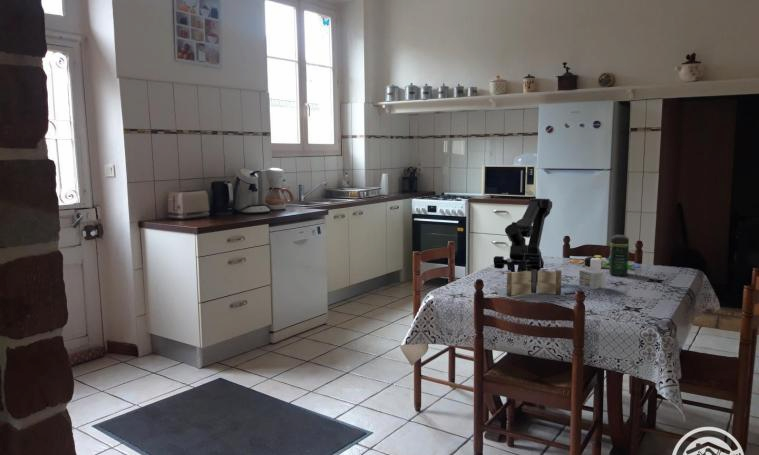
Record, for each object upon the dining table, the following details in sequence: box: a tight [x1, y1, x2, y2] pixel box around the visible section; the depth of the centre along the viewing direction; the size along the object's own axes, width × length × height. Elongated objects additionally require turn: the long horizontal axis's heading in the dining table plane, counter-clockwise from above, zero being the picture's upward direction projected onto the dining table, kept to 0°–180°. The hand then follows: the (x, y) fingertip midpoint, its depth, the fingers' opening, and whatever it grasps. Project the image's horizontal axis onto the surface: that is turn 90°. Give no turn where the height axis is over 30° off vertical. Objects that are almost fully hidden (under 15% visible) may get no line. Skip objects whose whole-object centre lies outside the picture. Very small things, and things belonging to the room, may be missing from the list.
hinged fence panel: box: [506, 269, 538, 296], centre depth 235 cm, size 13×2×9 cm, turn 107°
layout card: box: [493, 287, 567, 298], centre depth 239 cm, size 15×26×1 cm, turn 92°
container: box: [578, 256, 607, 290], centre depth 246 cm, size 8×8×13 cm
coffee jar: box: [609, 234, 630, 277], centre depth 270 cm, size 10×8×19 cm
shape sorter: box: [568, 254, 640, 271], centre depth 293 cm, size 34×19×5 cm, turn 58°
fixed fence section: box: [537, 269, 563, 294], centre depth 234 cm, size 9×2×10 cm, turn 72°
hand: (515, 280), depth 235 cm, fingers closed
